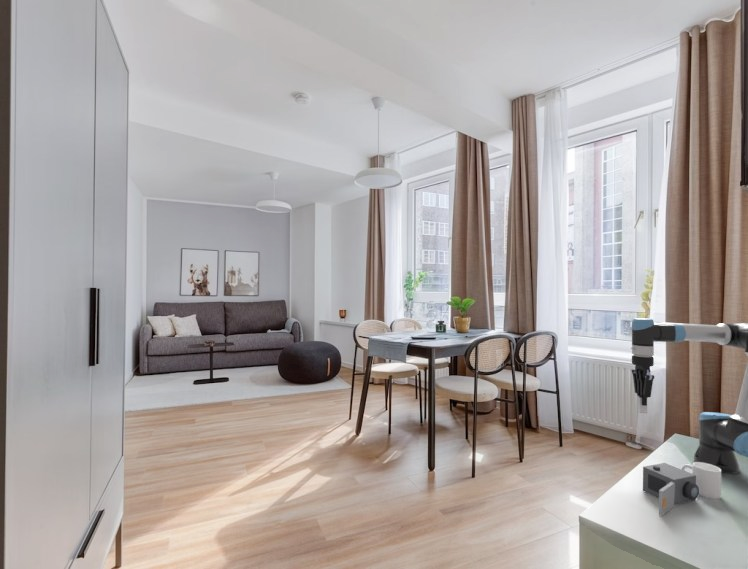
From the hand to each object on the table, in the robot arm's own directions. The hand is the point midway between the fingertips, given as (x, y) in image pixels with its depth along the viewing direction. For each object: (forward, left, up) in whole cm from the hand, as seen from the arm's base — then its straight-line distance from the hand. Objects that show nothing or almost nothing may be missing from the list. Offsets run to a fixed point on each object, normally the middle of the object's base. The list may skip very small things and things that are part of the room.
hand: (642, 412), depth 165 cm
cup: (-8, +17, -26) cm, 32 cm away
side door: (+19, +23, -25) cm, 39 cm away
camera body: (+7, +17, -25) cm, 31 cm away
